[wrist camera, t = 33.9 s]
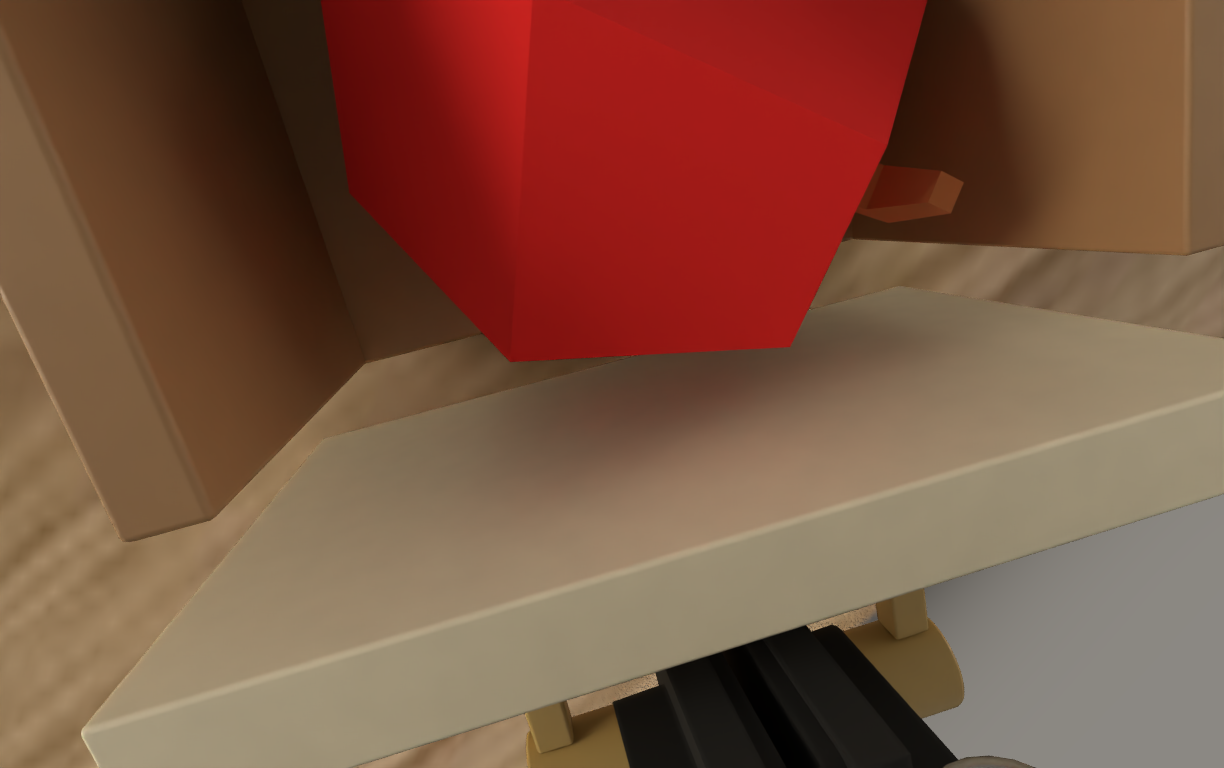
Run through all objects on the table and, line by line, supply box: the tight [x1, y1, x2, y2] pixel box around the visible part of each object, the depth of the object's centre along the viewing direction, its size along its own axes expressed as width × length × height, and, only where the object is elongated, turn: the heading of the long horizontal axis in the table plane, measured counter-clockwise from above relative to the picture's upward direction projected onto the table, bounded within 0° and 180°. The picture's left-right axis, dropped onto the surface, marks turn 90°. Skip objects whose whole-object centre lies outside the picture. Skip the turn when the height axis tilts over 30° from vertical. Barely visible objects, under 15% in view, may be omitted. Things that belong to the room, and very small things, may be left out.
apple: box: [321, 0, 964, 362], centre depth 9 cm, size 7×7×8 cm
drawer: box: [0, 0, 1224, 768], centre depth 9 cm, size 21×13×8 cm, turn 13°
